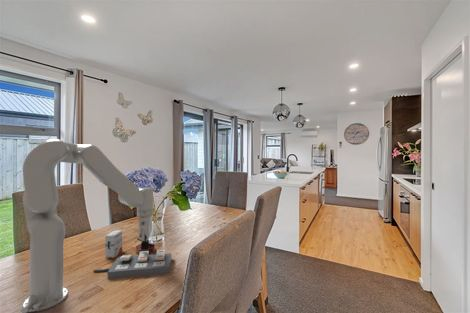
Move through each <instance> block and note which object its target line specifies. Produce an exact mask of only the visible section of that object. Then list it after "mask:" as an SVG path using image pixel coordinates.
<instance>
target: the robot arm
mask: <svg viewBox="0 0 470 313" xmlns="http://www.w3.org/2000/svg"><path fill="white" fill-rule="evenodd" d="M58 163H67V164H80V165H81V164H82V165H83V167H85V168H86V169H87V170H88V171H89V172H90V173H91V174H92V175H93V176H94V177H95V178H96V179H97V180H98V181H99V182H100V183H101V184H102V185H104V186H106V187H107V188H110V189H111V190H112V191H114V192H115V193H117V199H118V201H119V202H120V203H121V204H123V205H126V206H129V207H130V208H136V216H137V217H138V237H139V239H141V241H140V242H141V243H140V244H141V250H145V249H148V248H149V243H150V240H149V238H150V236H151V235H152V232H153V219H152V218H153V217H152V216H154V189H153V188H152V187H149V186H147V187H145V186H144V187H138V186H136V184H135V183H134V182H133V180H131V179H130V178H128V177H127V176H126V175H125V174H124V173H123V172H121V171H120V169H119V168H117V167H116V166H115V164H113V163H112V161H111V160H110V159H109V158H108V156H106V155H105V154H104V152H102V150H101V149H100V148H98V147H97V146H96V145H94V144H80V143H73V142H65V141H63V140H61V139H58V138H50V139H46V140H43V141H41V142H40V143H39V144H37V146H35V147H34V148H33V149H31V151H30V152H29V153H28V154H27V156H26V157H25V159H24V161H23V164H22V176H23V186H24V193H23V195H22V206H23V211H24V217H25V223H26V228H27V230H28V233H29V239H30V241H29V242H30V243H29V262H28V263H29V271H28V272H29V278H28V279H29V280H28V281H29V282H28V284H29V285H28V287H29V288H28V297H27V299H25V300H24V302H23V303H22V308H21V310H20V312H21V313H28V312H29V313H35V311H36V312H40V311H44V310H48V309H50V308H52V307H54V306H57V305H59V304H60V303H61V302H63V301H64V300H65V299H66V298H67V297H68V293H69V290H68V288H66V287H64V245H65V236H66V226H65V222H64V220H63V219H62V218H61V217H60V216H59V214H58V209H57V206H58V203H59V198H60V197H59V193H58V188H57V183H56V173H55V171H56V170H55V169H56V166H57V165H58Z"/></svg>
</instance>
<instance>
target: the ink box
mask: <svg viewBox="0 0 470 313" xmlns="http://www.w3.org/2000/svg"><path fill="white" fill-rule="evenodd" d="M104 239H105V243H104V246H105V247H104V248H105V251H104V254H105V257H104V258H106V259H107V258H108V259H109V258H113V259H114V258H116V257H117V256H118V255H119V254H121V253H122V251H123V230H121V229H119V230H113V231H111V232H109V233H108V234H106V235H105V238H104Z"/></svg>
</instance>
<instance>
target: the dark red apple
mask: <svg viewBox="0 0 470 313" xmlns="http://www.w3.org/2000/svg"><path fill="white" fill-rule="evenodd" d="M136 240H137V241H138V242H141V238H140V237H139V238H138V237H137V238H136ZM155 247H156V245H155V243H154V242H149V248H148V249H145V250H141V243H140V244H138V245H137V246H136V247H135V254H136V255H137V256H139V254H140V252H141V251H149V254H148V255H152V254H153V253H154V252H155V250H156V249H155Z"/></svg>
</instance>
